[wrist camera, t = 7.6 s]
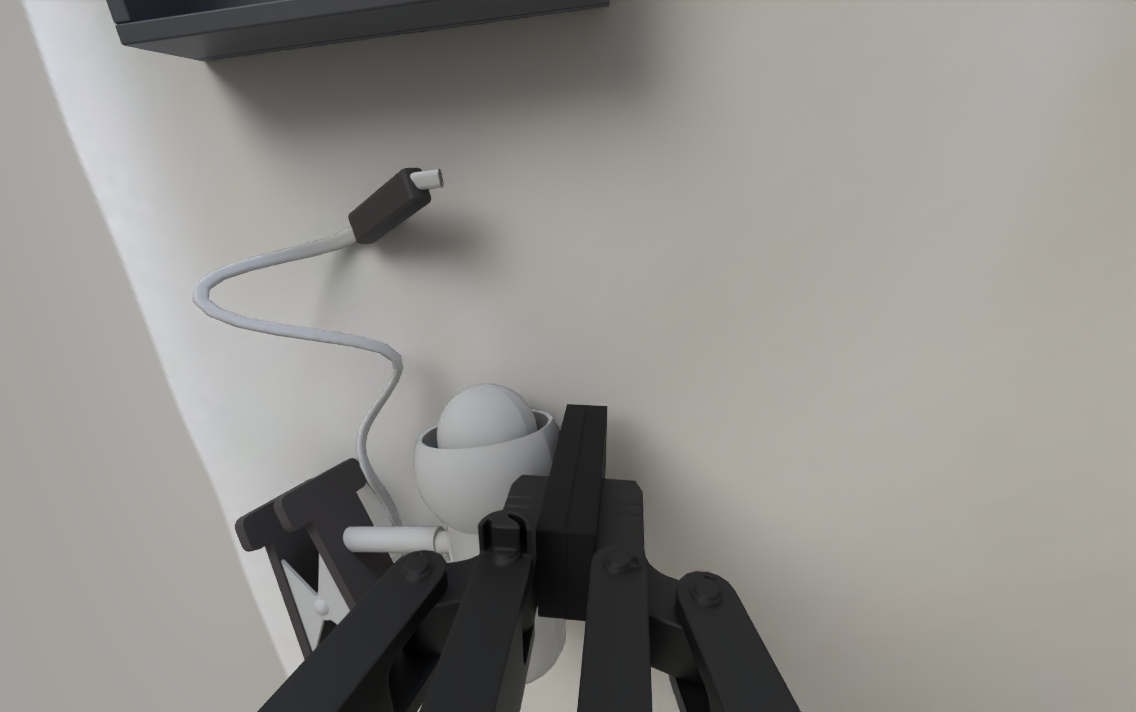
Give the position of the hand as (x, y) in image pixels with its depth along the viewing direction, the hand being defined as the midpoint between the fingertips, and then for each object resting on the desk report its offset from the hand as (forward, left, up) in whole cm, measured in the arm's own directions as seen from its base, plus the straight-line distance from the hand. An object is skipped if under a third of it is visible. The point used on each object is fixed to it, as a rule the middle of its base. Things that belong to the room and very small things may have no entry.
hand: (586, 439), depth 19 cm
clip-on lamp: (0, -7, -2) cm, 7 cm away
